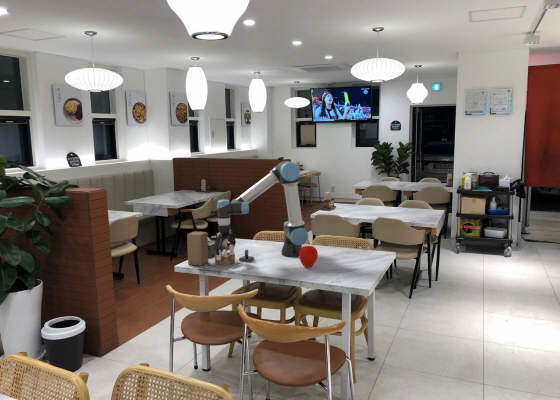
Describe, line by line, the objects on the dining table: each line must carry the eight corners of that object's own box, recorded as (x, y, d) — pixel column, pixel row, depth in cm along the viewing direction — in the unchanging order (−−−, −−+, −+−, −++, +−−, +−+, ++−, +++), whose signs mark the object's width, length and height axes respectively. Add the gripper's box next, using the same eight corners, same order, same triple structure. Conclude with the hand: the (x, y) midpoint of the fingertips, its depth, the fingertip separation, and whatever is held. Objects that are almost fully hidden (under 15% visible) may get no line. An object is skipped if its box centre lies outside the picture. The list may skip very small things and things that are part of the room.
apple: (312, 270, 269) (312, 249, 267) (295, 268, 275) (295, 246, 273) (320, 266, 279) (321, 245, 277) (304, 263, 285) (304, 242, 283)
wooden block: (209, 262, 289) (208, 231, 286) (201, 266, 280) (200, 235, 277) (195, 260, 292) (194, 230, 289) (187, 265, 283) (186, 234, 280)
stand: (254, 259, 294) (253, 249, 293) (248, 262, 288) (247, 251, 287) (245, 258, 297) (245, 248, 296) (239, 261, 291) (238, 250, 290)
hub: (240, 263, 286) (240, 248, 285) (227, 268, 274) (226, 253, 273) (222, 260, 293) (222, 246, 292) (209, 265, 281) (208, 250, 280)
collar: (223, 260, 290) (223, 251, 289) (234, 262, 286) (234, 253, 285) (215, 264, 282) (214, 254, 281) (226, 266, 278) (226, 256, 277)
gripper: (231, 220, 293) (232, 251, 296) (206, 227, 272) (208, 261, 275) (240, 221, 289) (241, 253, 292) (216, 228, 268) (218, 262, 271)
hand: (225, 257), depth 283 cm, fingers open, 13 cm apart
